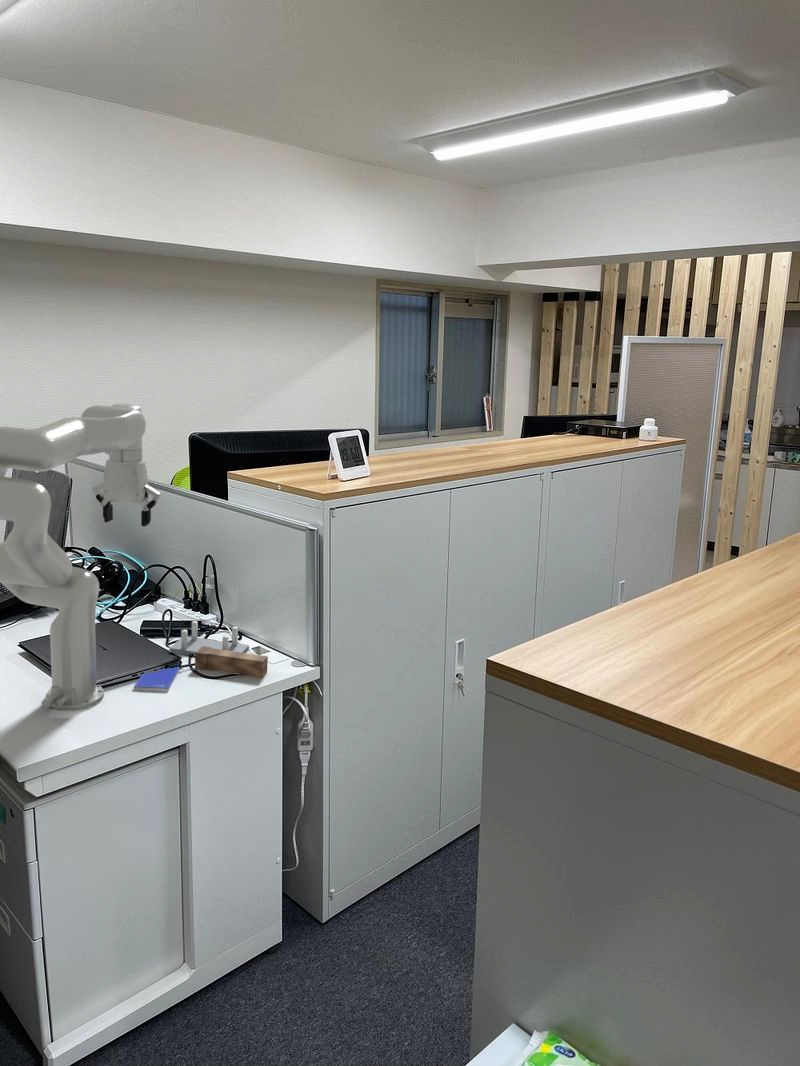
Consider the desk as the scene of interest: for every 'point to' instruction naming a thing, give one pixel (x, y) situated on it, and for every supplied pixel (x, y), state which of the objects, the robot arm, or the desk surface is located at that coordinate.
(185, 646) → the peg rack
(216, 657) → the walnut brown wooden beam
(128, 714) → the desk surface
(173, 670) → the hard drive
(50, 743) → the desk surface
